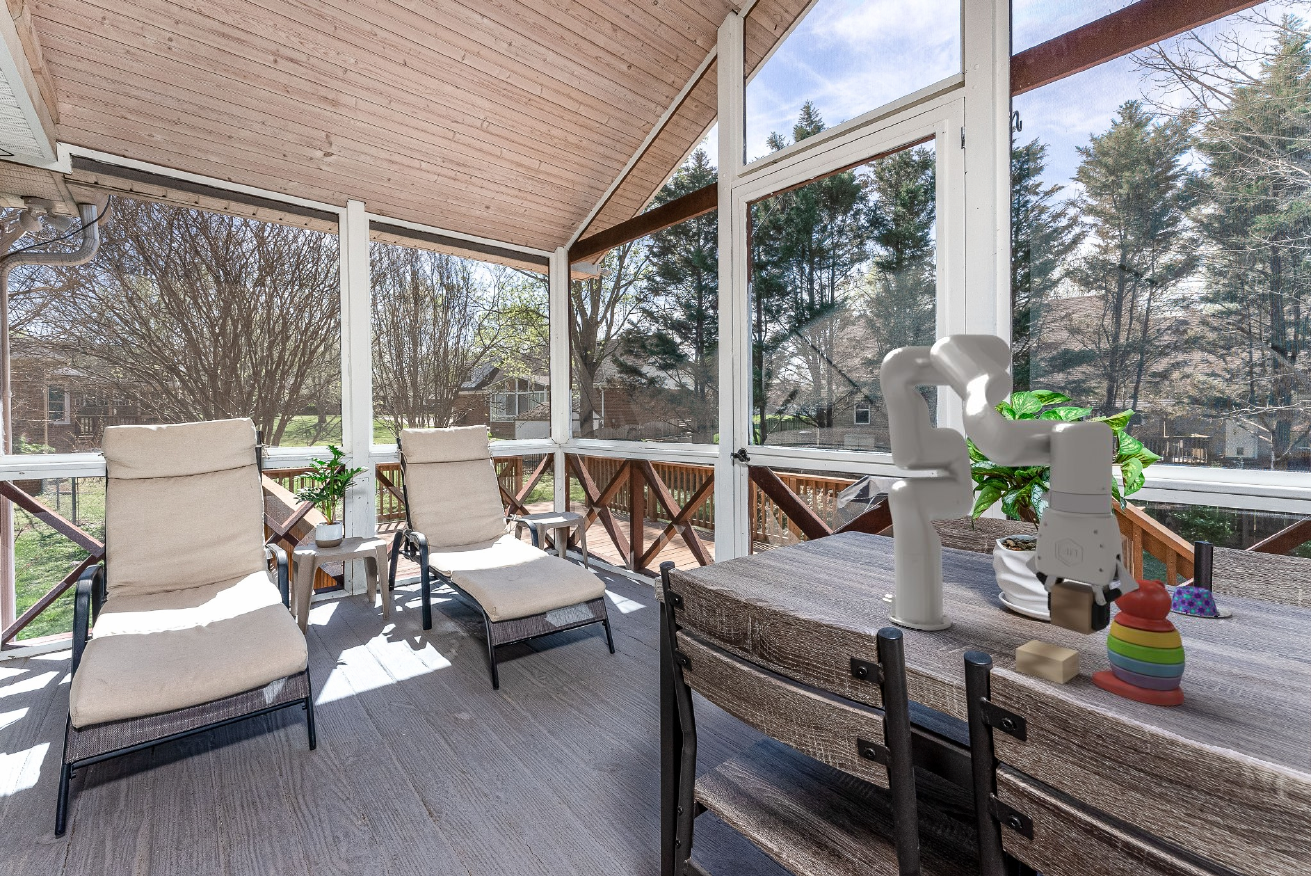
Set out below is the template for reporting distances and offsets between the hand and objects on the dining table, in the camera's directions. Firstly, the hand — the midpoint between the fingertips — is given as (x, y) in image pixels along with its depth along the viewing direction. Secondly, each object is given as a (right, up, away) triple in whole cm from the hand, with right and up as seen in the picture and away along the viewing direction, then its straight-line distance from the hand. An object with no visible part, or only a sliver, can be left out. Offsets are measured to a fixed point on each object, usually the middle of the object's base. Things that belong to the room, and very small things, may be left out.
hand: (1077, 621), depth 87 cm
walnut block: (0, -1, 0) cm, 1 cm away
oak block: (+3, -13, +12) cm, 18 cm away
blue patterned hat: (+57, -12, +43) cm, 73 cm away
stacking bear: (+13, -12, +3) cm, 18 cm away
